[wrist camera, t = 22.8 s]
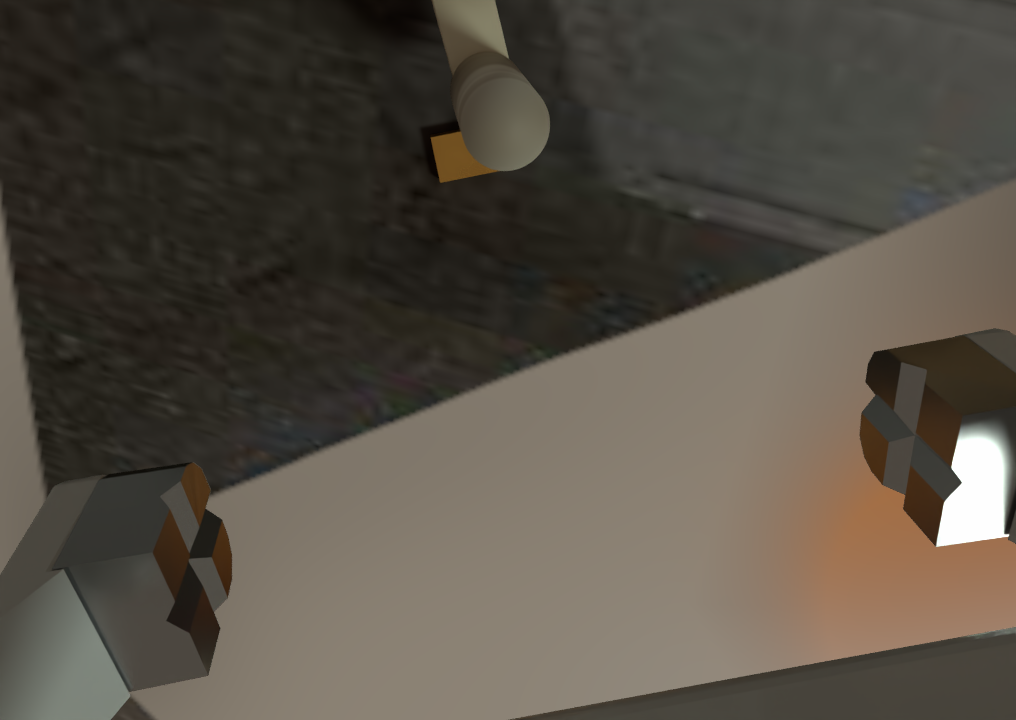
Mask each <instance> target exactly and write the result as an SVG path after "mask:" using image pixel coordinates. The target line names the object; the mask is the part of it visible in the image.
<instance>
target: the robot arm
mask: <svg viewBox="0 0 1016 720" xmlns="http://www.w3.org/2000/svg"><path fill="white" fill-rule="evenodd" d="M866 383H867V385H868V386H869V387H870V389H871V390H872V391H873V392H874V394H875V397H874V398H873V399H872V400H871V402H870V403H869V404H868V406H866V408H865V409H864V410H863V411H862V414H861V426H860V440H861V445H862V449H863V454H864V457H865V459H866V461H867V463H868V465H869V467H870V469H871V471H872V473H873V474H874V475H875V476H876V477H877V479H878V480H879V481H880V482H881V484H882V485H884V486H886V487H888V488H890V489H893V490H895V491H897V492H900V493H902V494H904V495H905V500H904V507H903V509H904V511H905V512H906V513H907V514H908V515H909V516H910V518H911V519H912V520H913V521H914V522H915V523H916V525H917V526H918V527H919V528H920V529H921V530H922V531H923V533H924V534H925V535H926V536H927V537H928V538H929V540H930V541H931V542H932V543H933V544H934V545H935V546H936V547H938V546H945V545H951V544H958V543H965V542H972V541H978V540H985V539H991V538H998V537H1005V536H1009V537H1008V540H1010V541H1012V542H1014V543H1015V544H1016V336H1015V335H1014V334H1012V333H1011V332H1009V331H1006V330H1001V329H990V330H984V331H979V332H974V333H970V334H964V335H959V336H955V337H952V338H947V339H941V340H936V341H930V342H925V343H920V344H914V345H909V346H904V347H898V348H893V349H887V350H882V351H876V352H874V354H873V355H872V357H871V360H870V361H869V363H868V368H867V375H866ZM210 492H211V489H210V487H209V485H208V482H207V480H206V478H205V475H204V473H203V471H202V468H200V467H199V466H198V465H196V464H195V463H193V462H191V463H184V464H177V465H170V466H163V467H156V468H149V469H142V470H135V471H128V472H121V473H114V474H109V475H107V476H105V475H99V476H93V477H87V478H82V479H76V480H70V481H65V482H63V483H60V484H58V485H56V486H54V488H53V489H52V491H51V493H50V494H49V496H48V497H47V499H46V501H45V502H44V504H43V506H42V507H41V509H40V511H39V512H38V514H37V516H36V517H35V519H34V520H33V522H32V524H31V525H30V527H29V529H28V530H27V532H26V534H25V535H24V537H23V539H22V540H21V542H20V543H19V545H18V547H17V548H16V550H15V552H14V553H13V555H12V557H11V558H10V560H9V561H8V563H7V565H6V566H5V568H4V570H3V571H2V573H1V575H0V720H111V718H112V717H113V716H114V715H115V714H116V713H117V711H118V710H119V709H120V708H121V707H122V705H123V704H124V703H125V702H126V701H127V699H128V698H129V697H130V693H129V692H131V691H136V690H141V689H146V688H151V687H156V686H160V685H165V684H170V683H175V682H180V681H185V680H190V679H195V678H199V677H204V676H208V675H209V671H210V667H211V663H212V659H213V655H214V651H215V647H216V642H217V639H218V635H219V631H220V626H219V624H218V621H217V619H216V616H215V614H214V611H215V610H216V609H217V608H218V607H219V606H220V605H221V604H222V603H223V602H224V601H225V600H226V599H227V598H228V595H229V590H230V585H231V581H232V553H231V548H230V543H229V538H228V535H227V532H226V529H225V526H224V524H223V521H222V519H220V518H219V517H217V516H216V515H214V514H213V513H211V512H210V511H208V510H207V509H205V508H206V505H207V502H208V499H209V495H210ZM510 720H1016V627H1013V628H1008V629H1002V630H996V631H991V632H985V633H980V634H974V635H969V636H964V637H958V638H953V639H947V640H941V641H936V642H930V643H925V644H920V645H914V646H908V647H903V648H898V649H892V650H886V651H881V652H875V653H870V654H865V655H859V656H853V657H848V658H842V659H837V660H831V661H825V662H820V663H814V664H810V665H803V666H798V667H792V668H787V669H782V670H776V671H771V672H765V673H760V674H754V675H749V676H744V677H738V678H732V679H727V680H722V681H716V682H711V683H705V684H700V685H695V686H689V687H684V688H678V689H673V690H667V691H662V692H657V693H652V694H646V695H640V696H635V697H630V698H624V699H619V700H613V701H608V702H602V703H597V704H591V705H586V706H581V707H575V708H570V709H565V710H559V711H554V712H548V713H543V714H538V715H532V716H526V717H521V718H516V719H510Z"/></svg>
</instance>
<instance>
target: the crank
mask: <svg viewBox="0 0 1016 720" xmlns="http://www.w3.org/2000/svg"><path fill="white" fill-rule="evenodd" d="M432 4H433V7H434V11H435V15H436V18H437V22H438V26H439V29H440V33H441V36H442V40H443V44H444V47H445V51H446V54H447V58H448V62H449V65H450V69H451V72H452V76H453V77H452V80H451V86H450V95H451V100H452V104H453V107H454V111H455V114H456V117H457V121H458V124H459V127H460V131H461V134H462V137H463V140H464V143H465V146H466V148H467V150H468V151H469V153H470V154H471V155H472V156H473V158H474V159H475V160H477V161H478V162H479V163H480V164H482V165H484V166H486V167H488V168H490V169H493V170H499V171H511V170H516V169H519V168H522V167H524V166H526V165H527V164H529V163H530V162H532V161H533V160H534V159H535V158H536V157H537V156H538V155H539V154H540V153H541V151H542V150H543V148H544V146H545V144H546V142H547V139H548V136H549V130H550V119H549V113H548V110H547V107H546V105H545V103H544V101H543V100H542V98H541V97H540V96H539V94H538V93H537V92H536V91H535V89H534V88H533V87H532V86H531V84H530V83H529V82H528V81H527V79H526V78H525V77H524V76H523V74H522V73H521V72H520V70H519V69H518V68H517V67H516V65H515V64H514V63H513V62H512V61H511V60H510V59H509V58H508V53H507V49H506V45H505V41H504V37H503V32H502V28H501V24H500V20H499V16H498V12H497V7H496V3H495V0H432Z"/></svg>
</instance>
